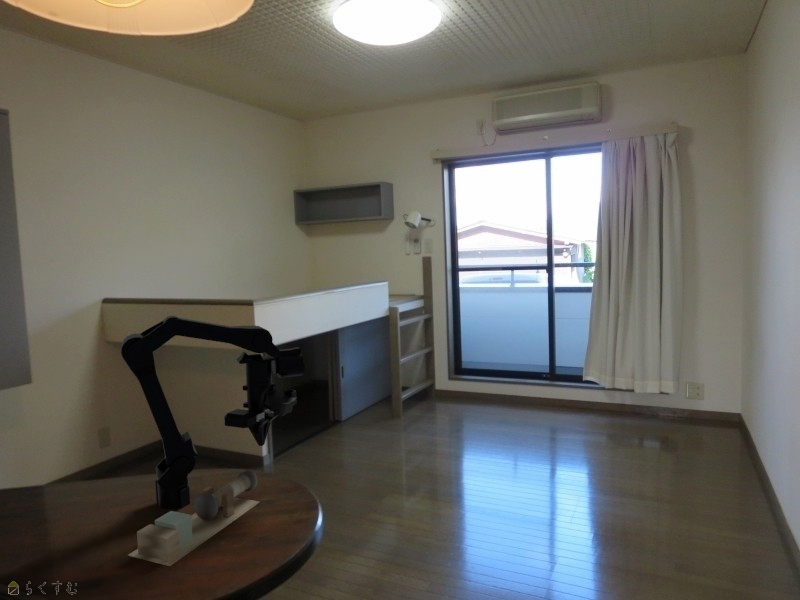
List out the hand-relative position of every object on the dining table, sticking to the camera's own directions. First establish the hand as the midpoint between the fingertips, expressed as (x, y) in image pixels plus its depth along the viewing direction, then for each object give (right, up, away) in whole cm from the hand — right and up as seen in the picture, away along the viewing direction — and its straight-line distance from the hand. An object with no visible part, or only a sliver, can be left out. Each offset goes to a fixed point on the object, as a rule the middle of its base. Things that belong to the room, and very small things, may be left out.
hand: (261, 445), depth 127 cm
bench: (-8, -12, -18) cm, 23 cm away
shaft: (-4, -10, -11) cm, 15 cm away
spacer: (-10, -12, -25) cm, 29 cm away
